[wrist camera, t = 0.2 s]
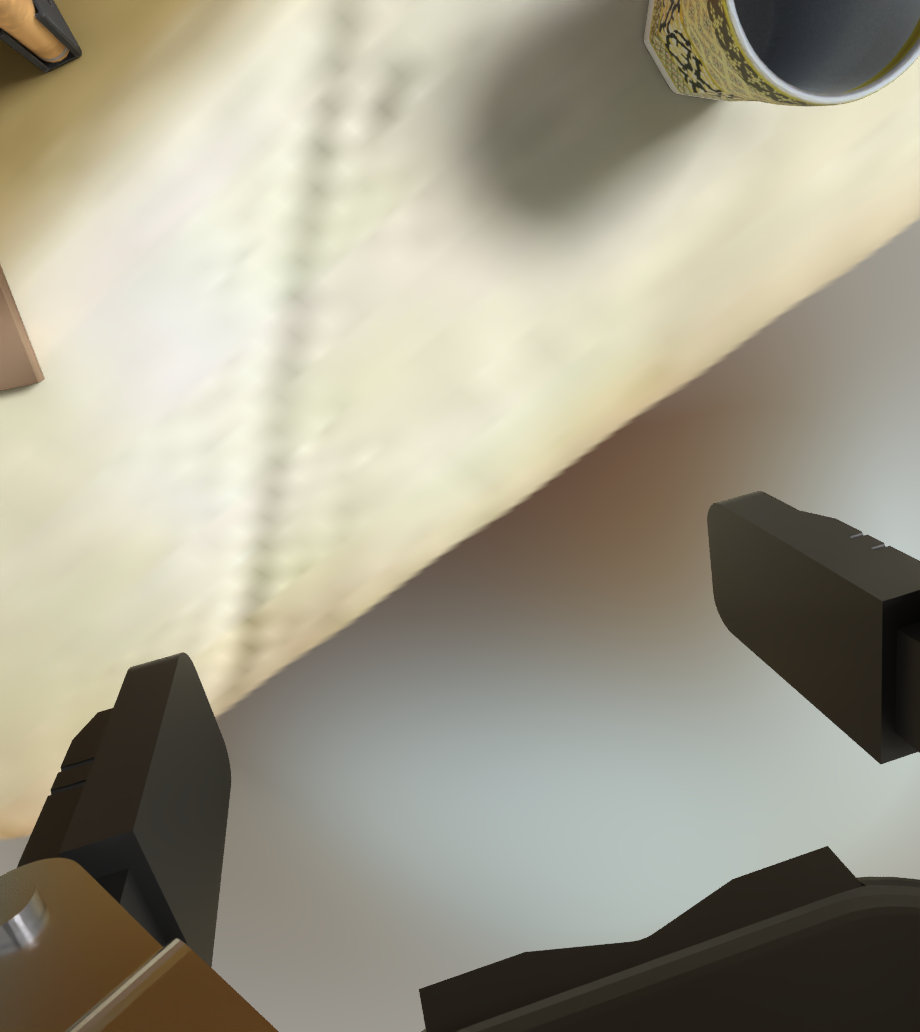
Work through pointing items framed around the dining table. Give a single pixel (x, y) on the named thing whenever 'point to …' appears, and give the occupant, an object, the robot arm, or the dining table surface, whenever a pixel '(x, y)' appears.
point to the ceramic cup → (782, 48)
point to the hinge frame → (15, 345)
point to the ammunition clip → (38, 32)
